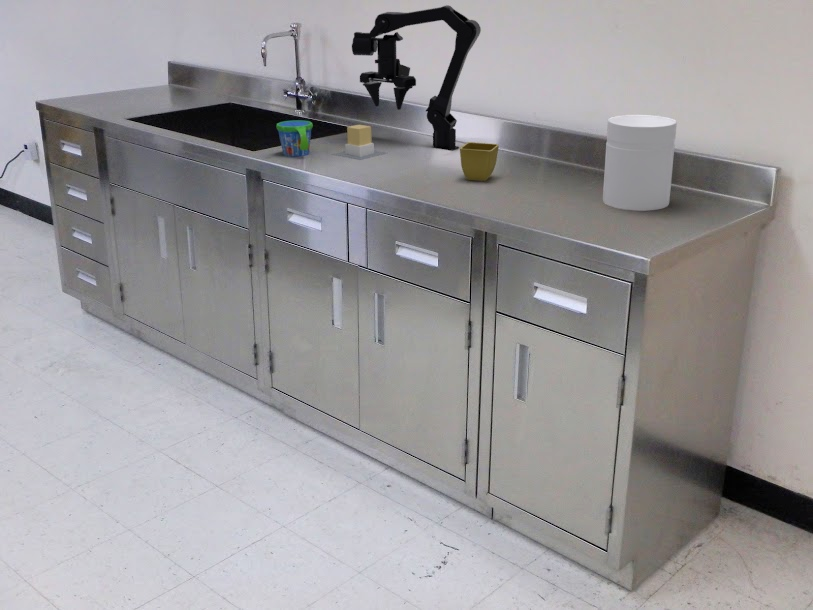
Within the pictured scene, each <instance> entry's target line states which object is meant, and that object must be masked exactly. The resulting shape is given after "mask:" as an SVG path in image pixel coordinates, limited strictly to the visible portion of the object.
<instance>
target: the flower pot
mask: <svg viewBox="0 0 813 610" xmlns="http://www.w3.org/2000/svg"><path fill="white" fill-rule="evenodd" d="M499 146H500V145H499V144H497V143H496V144H495V143H486V142H475V141H474V142H469V141H468V142H466V143H465V144H464V145H462V146H461V147H459V155H460V165H461V169H462V172H463V175H464V177H465V178H466V180H468V181H476V182H477V181H479V182H486V181H487V180H488V179H490V177H491V175H492V174H493V173H494V170H495V168H496V164H497V160H498V154H499V148H500V147H499Z"/></svg>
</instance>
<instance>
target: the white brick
mask: <svg viewBox="0 0 813 610" xmlns="http://www.w3.org/2000/svg"><path fill="white" fill-rule="evenodd" d="M374 143H375V142H372V143H371V144H367V145H362V146H356V145H351V144H348V142H347V143H345V147H344V148H345V151H346V154H349V155H354V156H359V157H361V156H365V155H369V154H373V153H374V150H375V145H374Z"/></svg>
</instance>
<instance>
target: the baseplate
mask: <svg viewBox="0 0 813 610" xmlns="http://www.w3.org/2000/svg"><path fill="white" fill-rule="evenodd" d="M386 154H387V152H385V151H380V150H375V149H374V153H373V154H369V155H365V156H361V157H359V156H354V155H349V154H346V150H344V151H339V152H334V153H332V154H331V155H333V156H338V157H341V158H342V157H343V158H348V159H352V160H359V161H364V160H366V159H370V158H374V157H379V156H383V155H386Z"/></svg>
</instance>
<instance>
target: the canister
mask: <svg viewBox="0 0 813 610" xmlns="http://www.w3.org/2000/svg"><path fill="white" fill-rule="evenodd" d="M677 124H678V122H677V120H676V119H674V118H671V117H667V116H662V115H655V114H654V115H653V114H623V115H622V114H621V115H616V116H612V117H609V118H608V119H607V129H606V131H607V132H606V145H605V146H606V147H605V158H604V159H605V160H604V175H603V177H604V178H603V189H602V203H603V204H605V205H606V206H609V207H611V208H615V209H619V210H624V211H637V212H639V211H640V212H643V211H644V212H645V211H646V212H647V211H657V210H662V209H664V208H665V209H666V208H667V207H668V206H669V204H670V200H671V199H670V196H671V188H672V187H671V186H672V176H673V168H674V167H673V166H674V156H675V147H676V145H675V141H676V134H677Z"/></svg>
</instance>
